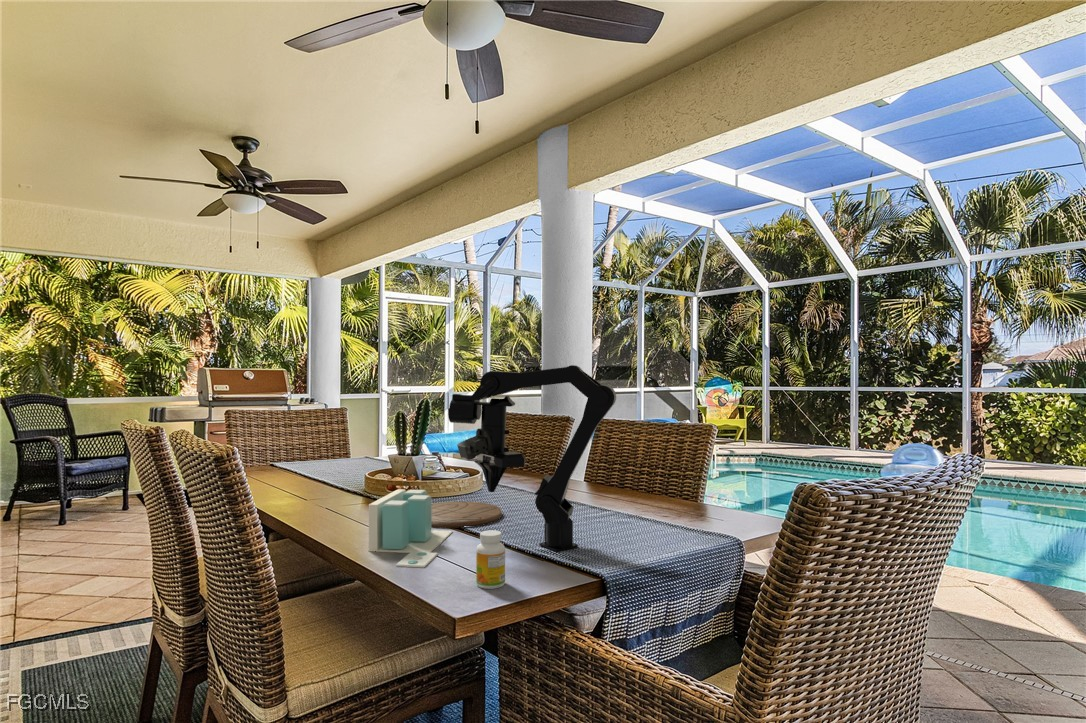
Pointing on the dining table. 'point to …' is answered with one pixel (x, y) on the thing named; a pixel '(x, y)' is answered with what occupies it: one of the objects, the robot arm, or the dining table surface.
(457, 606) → the dining table surface
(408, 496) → the teal rectangular block
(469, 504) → the trivet
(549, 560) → the dining table surface
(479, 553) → the supplement bottle
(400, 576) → the dining table surface
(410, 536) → the teal upright block
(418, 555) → the card
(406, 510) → the teal tall block
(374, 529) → the l-shaped bookend
